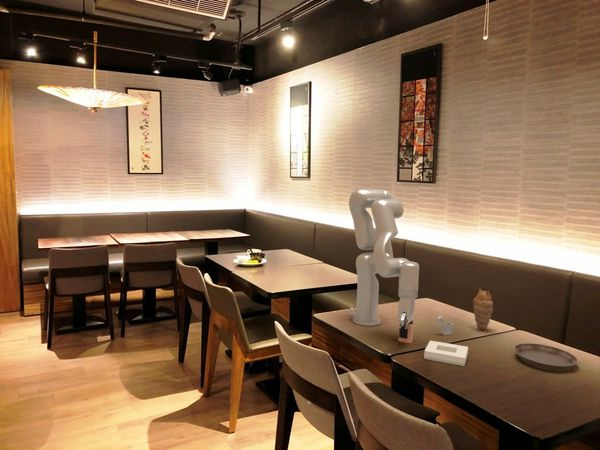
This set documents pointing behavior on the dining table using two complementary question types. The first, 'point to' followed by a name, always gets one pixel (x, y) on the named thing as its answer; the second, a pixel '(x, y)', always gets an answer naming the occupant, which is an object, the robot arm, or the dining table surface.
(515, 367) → the dining table surface
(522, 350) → the plant saucer
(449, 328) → the white plastic device
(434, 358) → the holder
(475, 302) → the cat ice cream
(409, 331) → the block
